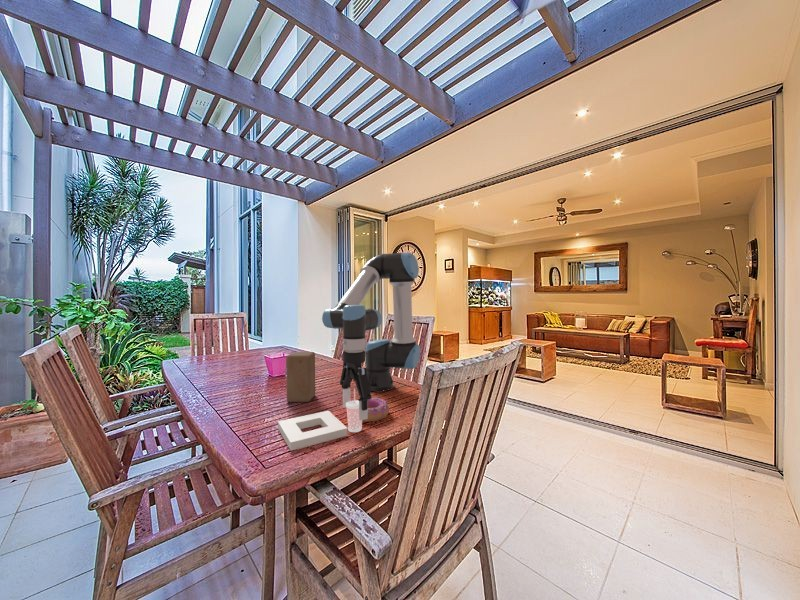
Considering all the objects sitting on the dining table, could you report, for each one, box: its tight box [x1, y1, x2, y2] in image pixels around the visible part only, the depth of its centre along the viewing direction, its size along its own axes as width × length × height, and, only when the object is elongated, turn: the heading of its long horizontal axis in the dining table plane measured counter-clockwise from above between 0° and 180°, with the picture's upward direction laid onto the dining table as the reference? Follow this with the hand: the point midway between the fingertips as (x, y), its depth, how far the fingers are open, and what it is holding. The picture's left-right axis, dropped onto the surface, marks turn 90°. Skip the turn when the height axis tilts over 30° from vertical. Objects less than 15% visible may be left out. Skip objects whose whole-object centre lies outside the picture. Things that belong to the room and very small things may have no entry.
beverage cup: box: [345, 388, 363, 433], centre depth 107 cm, size 6×6×14 cm
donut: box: [362, 397, 390, 423], centre depth 119 cm, size 14×14×5 cm
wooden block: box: [285, 351, 316, 403], centre depth 138 cm, size 10×10×20 cm
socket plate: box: [277, 410, 348, 451], centre depth 105 cm, size 18×18×2 cm
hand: (354, 412), depth 107 cm, fingers open, 13 cm apart
